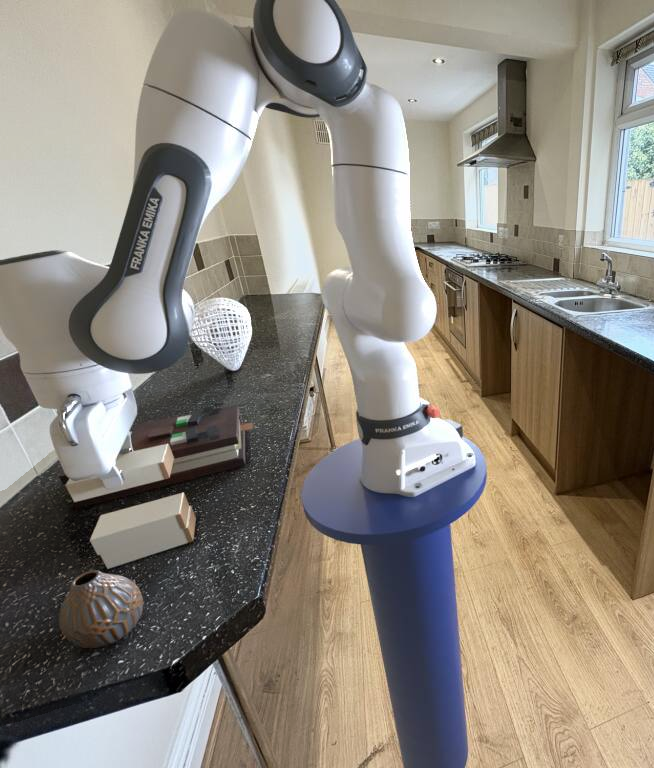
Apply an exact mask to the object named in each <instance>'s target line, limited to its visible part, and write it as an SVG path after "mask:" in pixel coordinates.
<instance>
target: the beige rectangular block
mask: <svg viewBox="0 0 654 768" xmlns="http://www.w3.org/2000/svg"><path fill="white" fill-rule="evenodd" d="M196 522H197V518H196V515H195V513H194V510H193V506H192V505H189V500H188V499H187V495H186V494H185V492H181V493H176V494H173V495H170V496H166V497H162V498H159V499H154V500H152V501H148V502H144V503H140V504H136V505H133V506H129V507H125V508H123V509H119V510H115V511H112V512H107V513H103V514H101V515H100V516H99V517H98V520H97V522H96V525H95V527H94V529H93V532H92V533H91V537H90V538H89V542H90V544H91V546H92V547H93V550H94V551H95V553H96V555H97V556H100V558H101V559H102V562H103V563H104V565H105V567H106V570H109V569H112V568H115V567H118V566H121V565H125V564H127V563H130V562H134V561H137V560H140V559H143V558H147V557H149V556H152V555H155V554H158V553H162V552H164V551H167V550H170V549H173V548H176V547H179V546H182V545H186V544H188V543H192V542H194V539H195V530H196Z"/></svg>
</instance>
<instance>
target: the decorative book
mask: <svg viewBox="0 0 654 768" xmlns="http://www.w3.org/2000/svg"><path fill="white" fill-rule="evenodd" d="M223 405H224V401H222V402H215V403H214V405H213V406H205V407H204V408H203V410H200V411H193V412H191V413H187V414H182V415H177V416H172V417H166V418H160V419H155V420H151V421H145V422H141V423H136V424H135V423H134V424H132V426H131V428H130V430H129V431H130V435H131V444H132V448H133V451H137V450H142V449H146V448H151V447H155V446H160V445H164V444H169V446H170V448H171V451H172V454H173V456H174V461H173V465H172V470H171V474H170V478H168V479H164V480H160V481H156V482H152V483H148V484H144V485H140V486H136V487H132V488H128V489H124V490H120V491H117V492H113V493H109V494H105V495H101V496H97V497H93V498H89V499H85V500H81V501H77V502H74V501H73V499H72V498H71V503H72V505H73V507H74V509H75V510H76V509H80V508H85V507H88V506H92V505H97V504H100V503H103V502H108V501H113V500H116V499H119V498H124V497H127V496H132V495H135V494H140V493H143V492H147V491H150V490H151V491H152V490H156V489H158V488H162V487H166V486H169V485H170V486H171V485H175V484H178V483H182V482H186V481H190V480H194V479H197V478H201V477H204V476H208V475H212V474H216V473H220V472H224V471H228V470H232V469H236V468H240V467H244V466H246V431H248V430H253V429H254V423H255V422H249V423H244V422H243V419H242V416H241V412H240V408H239V406H238V404H233V405H228V406H224V407H223ZM219 406H222V407H219ZM214 407H217V408H214ZM213 408H214V409H213ZM58 478H59V480H60V482H61V485H63V486H66V484H67V482H68V480H69V479H70V478H68V477H67V476H66V474H65V473H64V470H63V469H62V471H61V473H60V474H59V475H58ZM66 493H69V491H68V490H67V491H66Z"/></svg>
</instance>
